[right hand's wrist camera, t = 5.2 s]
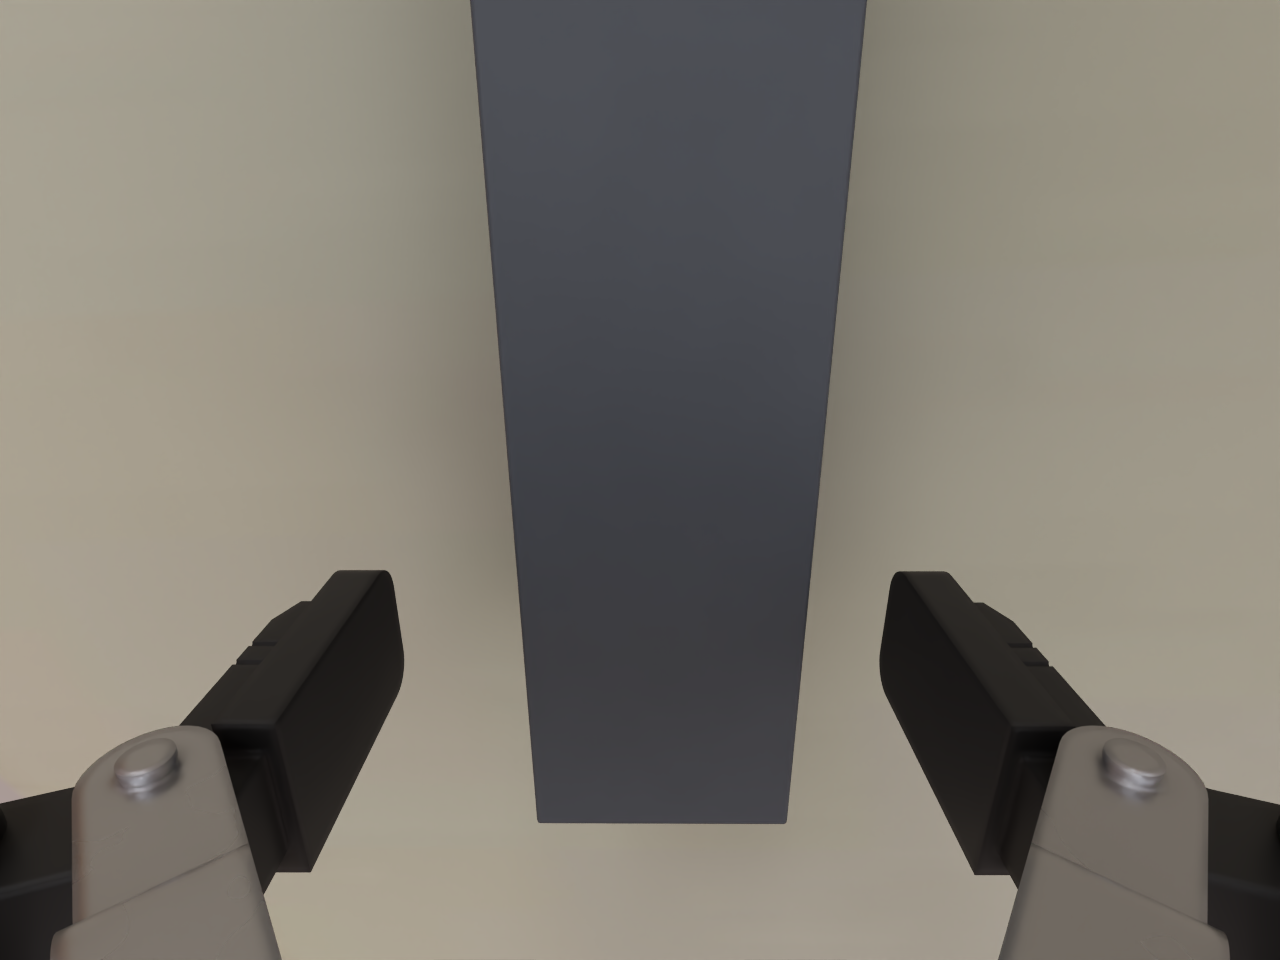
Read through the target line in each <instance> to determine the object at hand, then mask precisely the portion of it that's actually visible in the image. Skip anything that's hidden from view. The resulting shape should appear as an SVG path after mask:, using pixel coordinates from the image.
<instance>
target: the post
mask: <svg viewBox="0 0 1280 960" xmlns="http://www.w3.org/2000/svg"><path fill="white" fill-rule="evenodd" d="M470 4H471V16H472V28H473V41H474V53H475V65H476V77H477V89H478V102H479V114H480V126H481V138H482V150H483V163H484V175H485V187H486V199H487V212H488V224H489V236H490V248H491V260H492V273H493V285H494V297H495V309H496V322H497V334H498V346H499V358H500V370H501V383H502V395H503V407H504V419H505V431H506V444H507V456H508V468H509V480H510V493H511V505H512V517H513V529H514V541H515V554H516V566H517V578H518V590H519V602H520V615H521V627H522V639H523V651H524V664H525V676H526V688H527V700H528V712H529V725H530V737H531V749H532V761H533V774H534V786H535V798H536V810H537V820H538V822H539V823H674V824H785V823H786V821H787V813H788V803H789V792H790V782H791V772H792V762H793V751H794V741H795V731H796V721H797V711H798V700H799V690H800V680H801V670H802V659H803V649H804V639H805V629H806V619H807V608H808V598H809V588H810V578H811V567H812V557H813V547H814V537H815V526H816V516H817V506H818V496H819V486H820V475H821V465H822V455H823V445H824V434H825V424H826V414H827V404H828V393H829V383H830V373H831V363H832V353H833V342H834V332H835V322H836V312H837V301H838V291H839V281H840V271H841V261H842V250H843V240H844V230H845V220H846V209H847V199H848V189H849V179H850V168H851V158H852V148H853V138H854V128H855V117H856V107H857V97H858V87H859V76H860V66H861V56H862V46H863V35H864V25H865V15H866V5H867V0H470Z"/></svg>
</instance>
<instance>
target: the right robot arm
mask: <svg viewBox="0 0 1280 960" xmlns="http://www.w3.org/2000/svg"><path fill="white" fill-rule="evenodd" d="M879 662H880V676H881V682H882V686H883V689H884V692H885V695H886V697H887V699H888V701H889V703H890V705H891V707H892V709H893V711H894V713H895V715H896V717H897V719H898V721H899V723H900V725H901V727H902V729H903V731H904V733H905V735H906V737H907V739H908V741H909V743H910V745H911V747H912V749H913V751H914V753H915V755H916V757H917V759H918V761H919V763H920V765H921V767H922V769H923V771H924V774H925V776H926V778H927V780H928V782H929V784H930V786H931V788H932V790H933V792H934V794H935V796H936V798H937V800H938V802H939V804H940V806H941V808H942V810H943V812H944V814H945V816H946V818H947V820H948V822H949V824H950V826H951V828H952V830H953V832H954V834H955V836H956V838H957V840H958V842H959V844H960V846H961V848H962V850H963V852H964V854H965V856H966V858H967V860H968V862H969V864H970V866H971V868H972V870H973V872H974V874H975V875H1010V876H1011V878H1012V880H1013V881H1014V883H1015V885H1016V887H1017V889H1018V891H1017V895H1016V898H1015V902H1014V905H1013V909H1012V913H1011V916H1010V920H1009V923H1008V927H1007V930H1006V934H1005V937H1004V941H1003V944H1002V948H1001V951H1000V955H999V959H998V960H1280V805H1279V804H1274V803H1270V802H1265V801H1261V800H1256V799H1252V798H1247V797H1243V796H1238V795H1234V794H1229V793H1225V792H1220V791H1216V790H1212V789H1208V788H1206V787H1205V785H1204V783H1203V782H1202V780H1201V779H1200V777H1199V776H1198V774H1197V773H1196V772H1195V771H1194V770H1193V769H1192V768H1191V767H1190V766H1189V765H1188V764H1187V763H1186V762H1184V761H1183V760H1182V759H1181V758H1180V757H1178V756H1177V755H1175V754H1174V753H1173V752H1171V751H1169V750H1168V749H1166V748H1164V747H1163V746H1161V745H1159V744H1157V743H1155V742H1153V741H1151V740H1149V739H1147V738H1145V737H1142V736H1140V735H1137V734H1135V733H1131V732H1128V731H1125V730H1121V729H1117V728H1113V727H1106V726H1105V725H1104V724H1103V723H1102V722H1101V720H1100V719H1099V718H1098V717H1097V716H1096V715H1095V714H1094V713H1093V711H1092V710H1091V709H1090V708H1089V707H1088V706H1087V705H1086V703H1085V702H1084V701H1083V700H1082V699H1081V698H1080V697H1079V696H1078V694H1077V693H1076V692H1075V691H1074V690H1073V689H1072V688H1071V686H1070V685H1069V684H1068V683H1067V682H1066V681H1065V680H1064V679H1063V677H1062V676H1061V675H1060V674H1059V673H1058V672H1057V671H1056V669H1055V668H1054V667H1053V666H1049V662H1048V660H1047V659H1046V658H1045V657H1044V656H1043V655H1042V654H1041V653H1040V651H1039V650H1038V649H1037V648H1033V646H1032V642H1031V641H1030V640H1029V639H1028V638H1027V637H1026V636H1025V634H1024V633H1023V632H1022V631H1021V630H1020V629H1019V628H1018V626H1017V625H1016V624H1015V623H1014V622H1013V621H1012V620H1010V619H1008V618H1007V617H1005V616H1004V615H1002V614H1000V613H999V612H997V611H996V610H994V609H992V608H991V607H989V606H988V605H986V604H984V603H973V601H972V600H971V599H970V598H969V597H968V595H967V594H966V593H965V592H964V591H963V589H962V588H961V587H960V586H959V585H958V583H957V582H956V581H955V580H954V578H953V577H952V576H951V575H950V574H949V573H947V572H944V571H899V572H897V573H895V575H894V576H893V578H892V581H891V585H890V591H889V597H888V604H887V610H886V617H885V623H884V630H883V636H882V643H881V650H880V661H879ZM403 671H404V651H403V644H402V638H401V631H400V624H399V618H398V611H397V604H396V598H395V591H394V585H393V581H392V578H391V575H390V574H389V572H388V571H385V570H339V571H337V572H335V573H334V574H333V575H332V576H331V578H330V579H329V580H328V581H327V582H326V584H325V585H324V586H323V587H322V589H321V590H320V591H319V592H318V593H317V595H316V596H315V597H314V598H313V600H312V601H301V602H299V603H298V604H296V605H295V606H293V607H291V608H290V609H288V610H287V611H285V612H283V613H282V614H280V615H279V616H277V617H276V618H274V619H272V620H271V621H270V622H269V623H268V625H267V626H266V627H265V628H264V629H263V630H262V631H261V633H260V634H259V635H258V636H257V637H256V638H255V639H254V641H253V644H252V646H248V647H247V649H246V650H245V651H244V652H243V653H242V654H241V655H240V657H239V658H238V659H237V663H236V665H232V666H231V667H230V668H229V669H228V670H227V671H226V673H225V674H224V675H223V676H222V677H221V678H220V679H219V681H218V682H217V683H216V684H215V685H214V686H213V687H212V689H211V690H210V691H209V692H208V693H207V694H206V695H205V697H204V698H203V699H202V700H201V701H200V702H199V703H198V705H197V706H196V707H195V708H194V709H193V710H192V711H191V713H190V714H189V715H188V716H187V717H186V718H185V719H184V721H183V722H182V723H181V724H180V725H179V726H174V727H167V728H163V729H159V730H155V731H152V732H149V733H145V734H143V735H140V736H138V737H135V738H133V739H131V740H129V741H127V742H125V743H123V744H121V745H119V746H117V747H116V748H114V749H112V750H111V751H109V752H107V753H106V754H105V755H103V756H102V757H100V758H99V759H98V760H97V761H96V762H94V763H93V764H92V765H91V766H90V767H89V768H88V769H87V770H86V771H85V772H84V773H83V774H82V776H81V777H80V779H79V780H78V782H77V783H76V785H75V787H73V788H68V789H64V790H59V791H55V792H50V793H46V794H41V795H37V796H32V797H28V798H23V799H19V800H15V801H10V802H6V803H1V804H0V960H282V959H281V955H280V951H279V948H278V944H277V941H276V937H275V934H274V930H273V927H272V923H271V920H270V916H269V913H268V909H267V905H266V902H265V898H264V893H265V891H266V889H267V888H268V886H269V884H270V882H271V880H272V878H273V876H274V875H275V873H276V872H311V871H312V868H313V866H314V864H315V862H316V860H317V858H318V856H319V854H320V852H321V850H322V848H323V846H324V844H325V842H326V840H327V838H328V836H329V834H330V832H331V830H332V828H333V826H334V824H335V821H336V819H337V817H338V815H339V813H340V811H341V809H342V807H343V805H344V803H345V801H346V799H347V797H348V795H349V793H350V791H351V789H352V787H353V785H354V783H355V781H356V779H357V776H358V774H359V772H360V770H361V768H362V766H363V764H364V762H365V760H366V758H367V756H368V754H369V752H370V750H371V748H372V746H373V744H374V742H375V740H376V738H377V736H378V734H379V732H380V729H381V727H382V725H383V723H384V721H385V719H386V717H387V715H388V713H389V711H390V709H391V707H392V705H393V703H394V701H395V699H396V697H397V695H398V692H399V690H400V687H401V683H402V678H403Z"/></svg>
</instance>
